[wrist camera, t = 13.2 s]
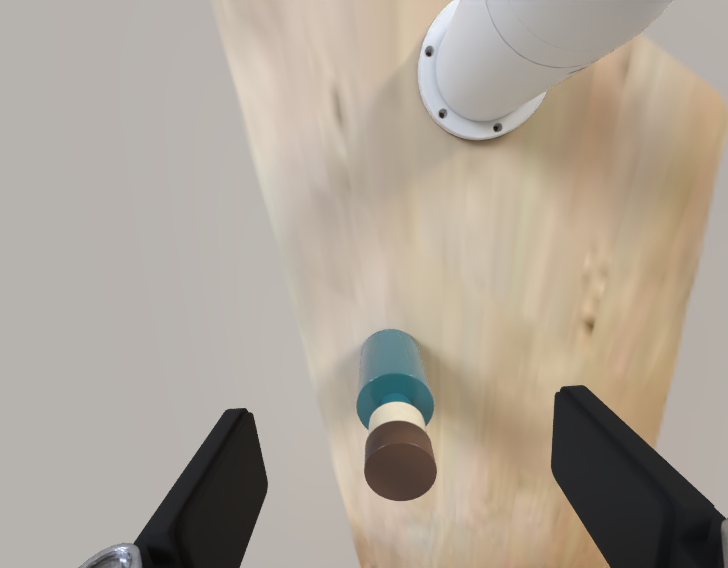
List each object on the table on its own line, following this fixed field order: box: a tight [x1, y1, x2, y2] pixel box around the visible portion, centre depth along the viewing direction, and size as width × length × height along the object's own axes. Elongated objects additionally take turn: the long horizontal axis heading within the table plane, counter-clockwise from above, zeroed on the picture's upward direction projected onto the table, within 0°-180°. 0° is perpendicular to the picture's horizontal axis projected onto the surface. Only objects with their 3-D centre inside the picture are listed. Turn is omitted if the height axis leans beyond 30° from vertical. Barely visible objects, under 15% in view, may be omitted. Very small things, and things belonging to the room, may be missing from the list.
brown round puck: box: [364, 420, 437, 501], centre depth 25 cm, size 5×5×2 cm
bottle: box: [357, 329, 434, 436], centre depth 33 cm, size 7×7×15 cm
